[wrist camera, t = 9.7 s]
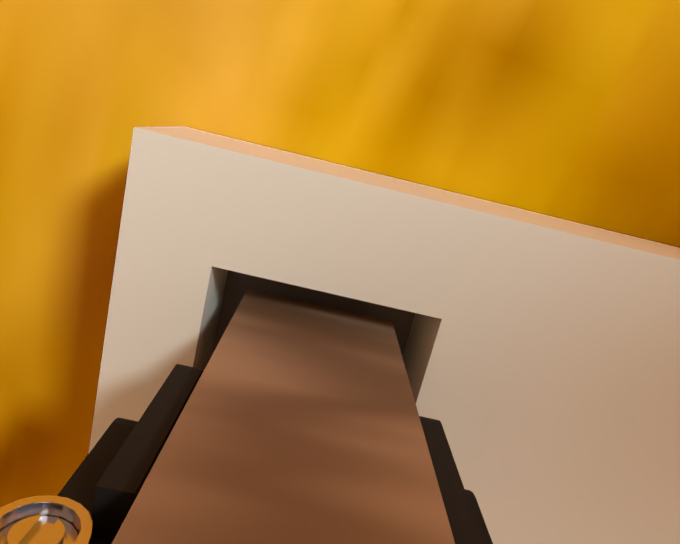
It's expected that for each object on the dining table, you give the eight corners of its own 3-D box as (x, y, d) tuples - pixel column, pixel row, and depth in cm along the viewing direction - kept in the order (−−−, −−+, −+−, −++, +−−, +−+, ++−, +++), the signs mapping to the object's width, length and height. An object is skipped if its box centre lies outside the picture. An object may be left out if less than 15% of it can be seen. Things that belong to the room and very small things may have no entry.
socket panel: (933, 309, 17) (1101, 363, 14) (781, 585, 20) (885, 694, 16) (183, 125, 16) (133, 127, 12) (130, 452, 19) (76, 538, 15)
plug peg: (392, 321, 15) (521, 781, 5) (356, 448, 16) (394, 1060, 6) (247, 288, 15) (30, 697, 4) (220, 419, 16) (-9, 1008, 5)
